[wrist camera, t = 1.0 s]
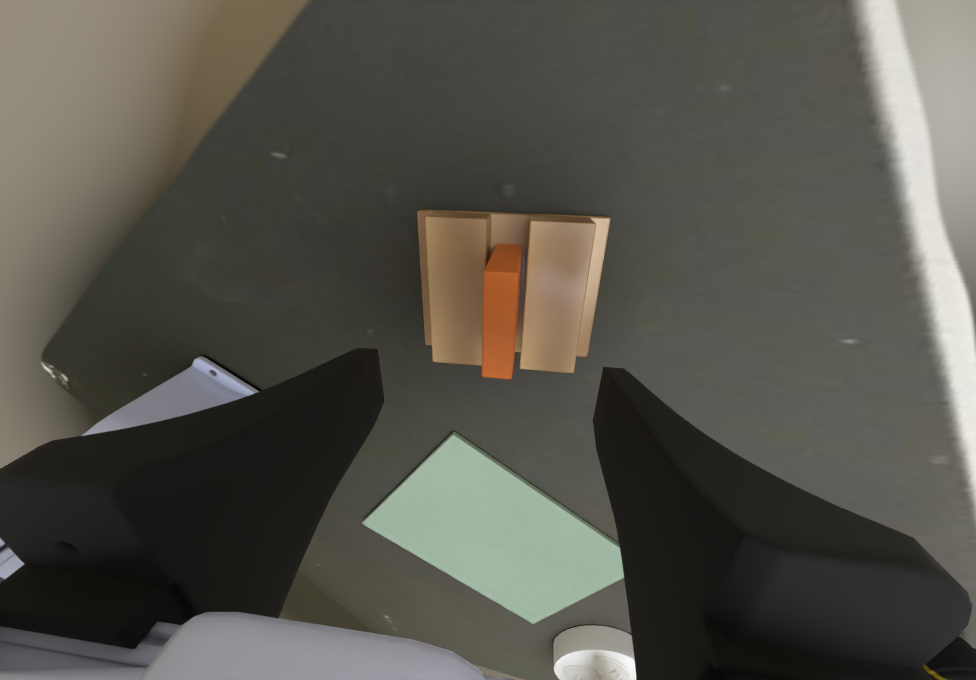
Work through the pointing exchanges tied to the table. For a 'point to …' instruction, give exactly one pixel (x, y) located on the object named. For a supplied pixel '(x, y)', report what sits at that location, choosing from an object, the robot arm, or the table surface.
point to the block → (501, 310)
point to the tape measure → (953, 662)
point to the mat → (496, 532)
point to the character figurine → (594, 654)
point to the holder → (543, 286)
